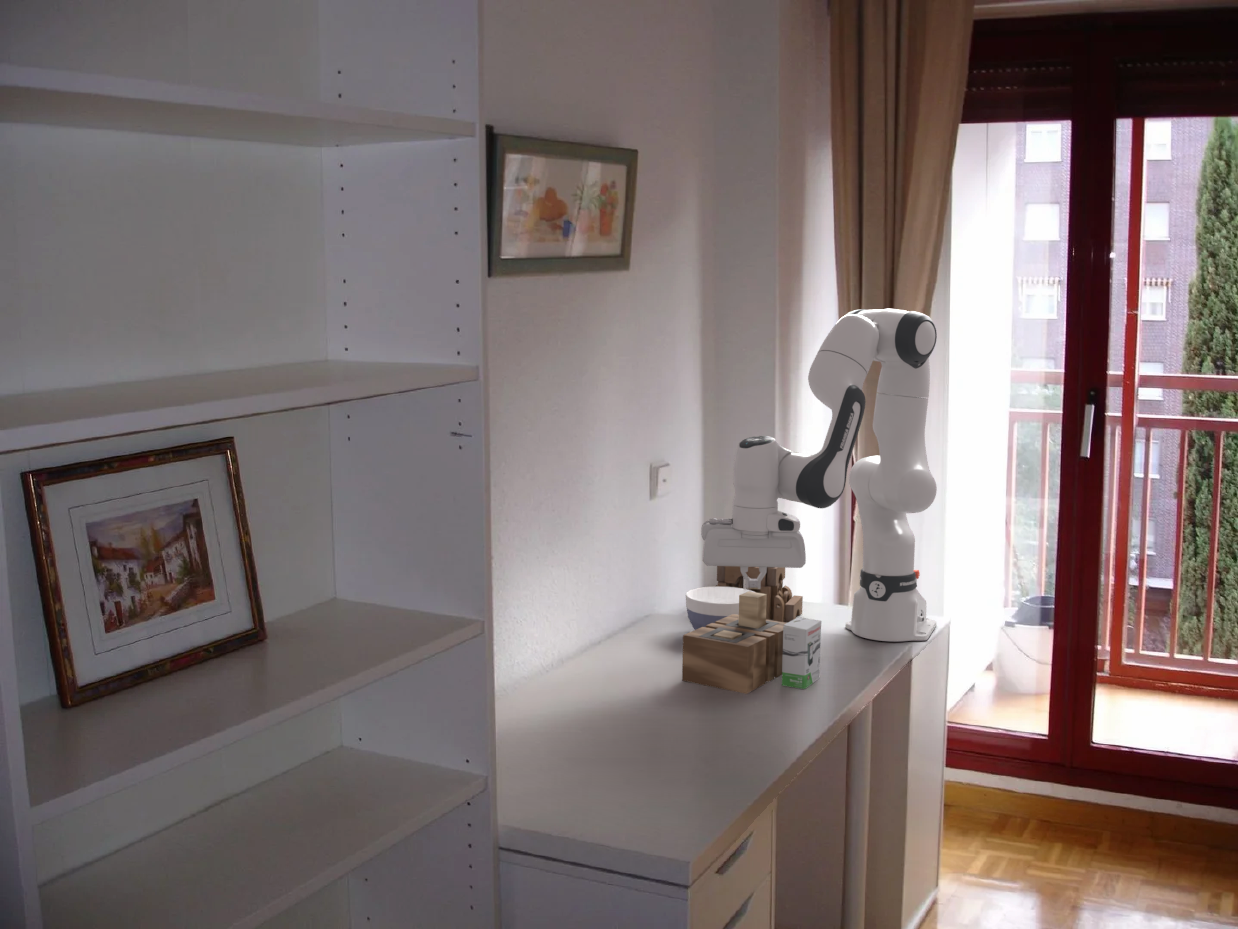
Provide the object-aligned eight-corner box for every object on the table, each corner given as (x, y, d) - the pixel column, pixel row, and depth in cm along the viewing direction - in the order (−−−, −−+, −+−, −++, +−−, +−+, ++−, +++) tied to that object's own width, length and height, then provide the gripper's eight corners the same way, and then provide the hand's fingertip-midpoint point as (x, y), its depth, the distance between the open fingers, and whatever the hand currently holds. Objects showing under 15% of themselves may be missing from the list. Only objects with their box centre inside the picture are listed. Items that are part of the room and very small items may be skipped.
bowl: (700, 625, 277) (701, 583, 275) (767, 633, 270) (769, 591, 269) (673, 642, 262) (674, 598, 261) (744, 651, 256) (745, 606, 255)
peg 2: (747, 633, 246) (748, 591, 245) (765, 636, 244) (766, 594, 242) (738, 638, 242) (739, 595, 241) (756, 641, 240) (757, 598, 239)
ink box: (804, 690, 230) (806, 629, 229) (780, 686, 233) (781, 625, 231) (820, 678, 238) (822, 619, 236) (796, 674, 240) (798, 615, 239)
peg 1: (722, 673, 238) (723, 630, 237) (740, 677, 236) (741, 633, 235) (712, 678, 235) (713, 634, 234) (730, 682, 233) (731, 637, 232)
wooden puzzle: (804, 612, 290) (806, 534, 288) (790, 626, 277) (792, 545, 274) (714, 603, 298) (716, 527, 295) (697, 617, 284) (698, 538, 282)
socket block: (732, 656, 252) (733, 613, 251) (794, 668, 244) (795, 624, 243) (682, 680, 235) (682, 634, 234) (746, 694, 228) (747, 646, 226)
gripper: (701, 521, 237) (700, 590, 239) (807, 523, 236) (805, 593, 238) (701, 515, 244) (700, 583, 245) (804, 517, 243) (802, 586, 244)
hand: (752, 588), depth 242 cm, fingers closed
